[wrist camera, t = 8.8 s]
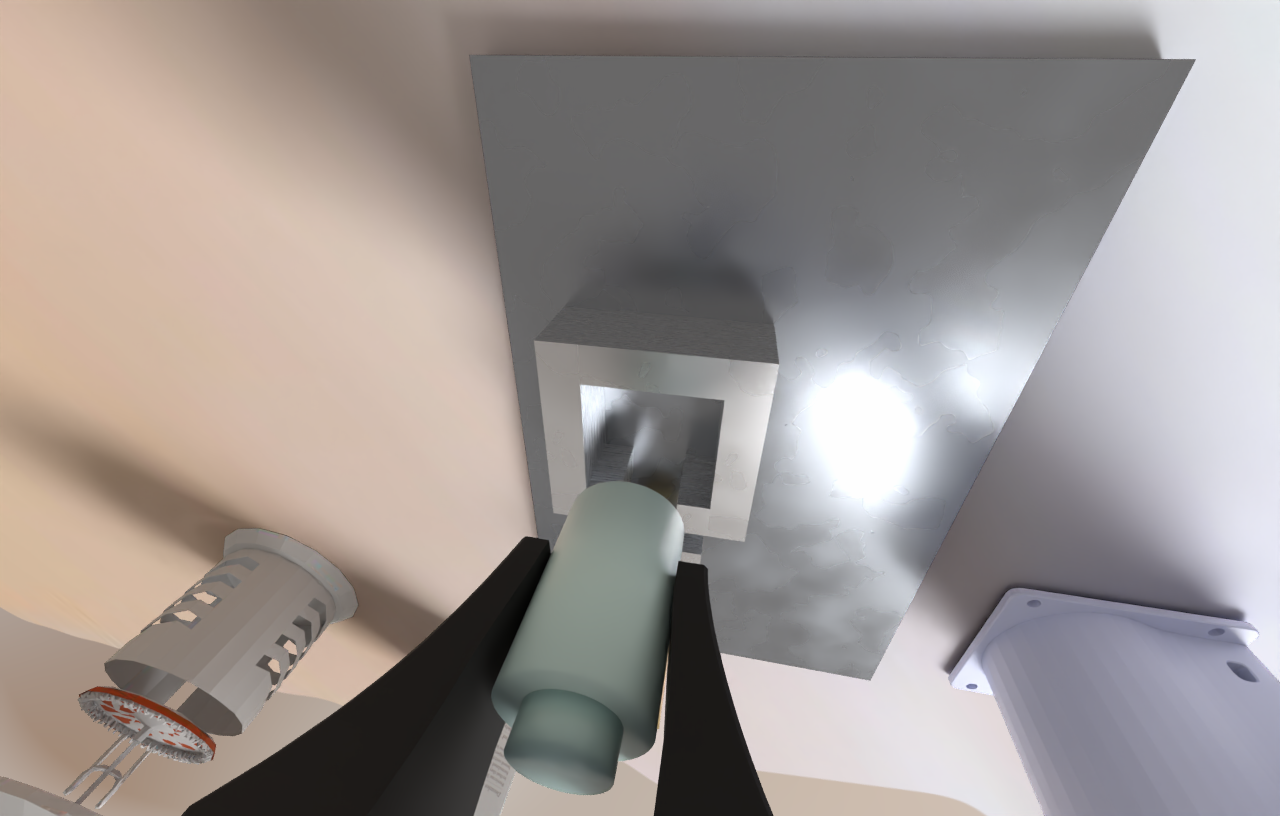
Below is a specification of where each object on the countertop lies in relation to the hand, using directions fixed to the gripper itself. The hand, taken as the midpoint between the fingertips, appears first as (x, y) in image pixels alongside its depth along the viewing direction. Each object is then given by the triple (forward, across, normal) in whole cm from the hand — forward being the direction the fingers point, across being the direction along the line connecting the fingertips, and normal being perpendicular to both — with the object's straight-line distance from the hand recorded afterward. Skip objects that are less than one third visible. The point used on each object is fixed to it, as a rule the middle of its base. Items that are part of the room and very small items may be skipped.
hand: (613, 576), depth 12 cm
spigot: (+2, 0, 0) cm, 2 cm away
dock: (+9, -3, +2) cm, 10 cm away
